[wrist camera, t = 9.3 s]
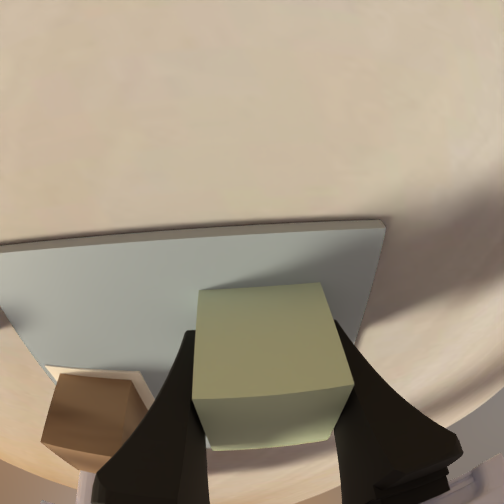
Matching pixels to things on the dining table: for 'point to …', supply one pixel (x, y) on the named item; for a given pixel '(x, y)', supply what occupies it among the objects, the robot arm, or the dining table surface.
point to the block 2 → (268, 367)
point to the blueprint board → (169, 289)
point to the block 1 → (91, 419)
